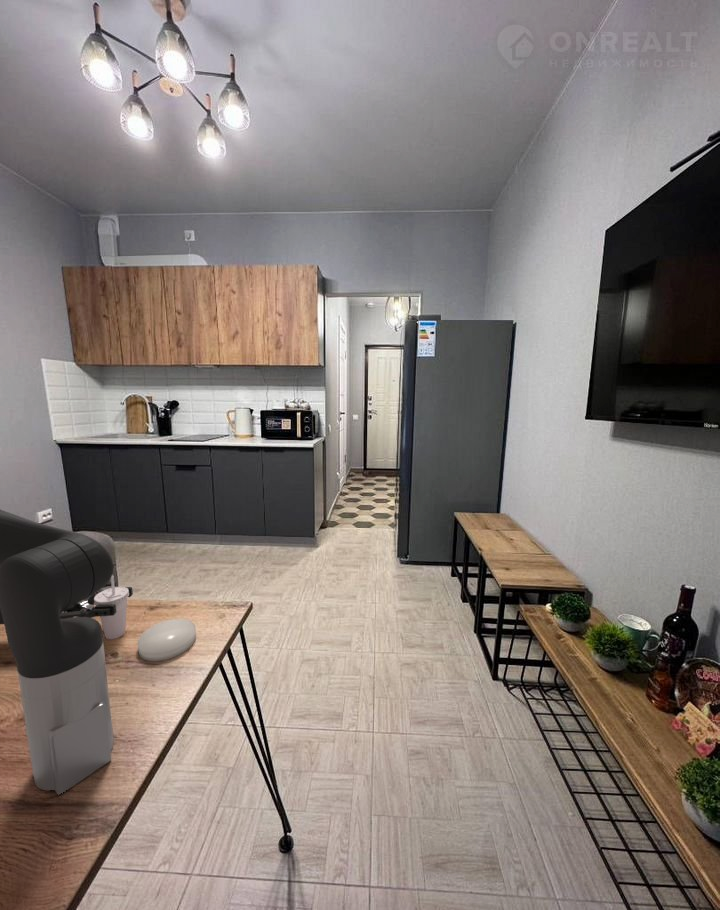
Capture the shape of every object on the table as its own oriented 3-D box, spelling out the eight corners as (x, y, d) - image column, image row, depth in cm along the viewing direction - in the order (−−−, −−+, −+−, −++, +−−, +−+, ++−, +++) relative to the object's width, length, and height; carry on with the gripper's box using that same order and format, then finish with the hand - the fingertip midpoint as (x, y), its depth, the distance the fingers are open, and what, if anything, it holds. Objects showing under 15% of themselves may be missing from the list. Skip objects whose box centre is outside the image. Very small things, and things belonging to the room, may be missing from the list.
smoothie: (116, 645, 76) (110, 584, 74) (90, 641, 77) (83, 581, 75) (139, 626, 82) (134, 570, 80) (114, 623, 83) (109, 567, 81)
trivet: (205, 640, 78) (205, 631, 78) (152, 669, 70) (151, 660, 69) (181, 620, 85) (180, 612, 85) (129, 645, 76) (129, 636, 76)
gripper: (10, 608, 69) (103, 603, 71) (61, 572, 83) (138, 569, 85) (15, 643, 70) (107, 637, 72) (65, 601, 84) (140, 597, 86)
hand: (123, 600), depth 79 cm, fingers open, 6 cm apart
